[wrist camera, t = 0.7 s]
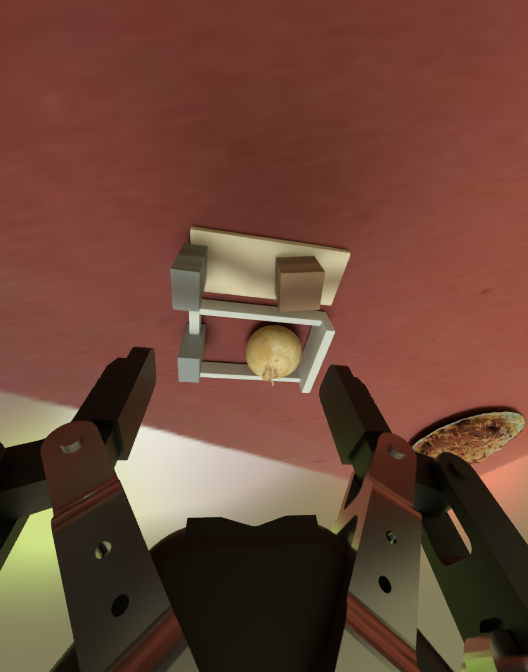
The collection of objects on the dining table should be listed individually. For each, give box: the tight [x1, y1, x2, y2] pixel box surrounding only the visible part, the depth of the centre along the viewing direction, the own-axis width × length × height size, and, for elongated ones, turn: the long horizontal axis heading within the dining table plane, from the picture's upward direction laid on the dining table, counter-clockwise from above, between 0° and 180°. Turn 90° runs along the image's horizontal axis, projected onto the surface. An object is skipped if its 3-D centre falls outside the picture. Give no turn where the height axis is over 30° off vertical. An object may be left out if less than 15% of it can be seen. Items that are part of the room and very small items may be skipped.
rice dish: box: [412, 412, 526, 465], centre depth 60 cm, size 28×28×5 cm
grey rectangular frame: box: [178, 299, 335, 393], centre depth 34 cm, size 12×19×7 cm, turn 80°
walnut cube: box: [275, 256, 325, 312], centre depth 28 cm, size 4×4×4 cm
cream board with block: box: [171, 226, 351, 312], centre depth 27 cm, size 7×19×8 cm, turn 80°
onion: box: [246, 325, 302, 386], centre depth 34 cm, size 8×8×7 cm
